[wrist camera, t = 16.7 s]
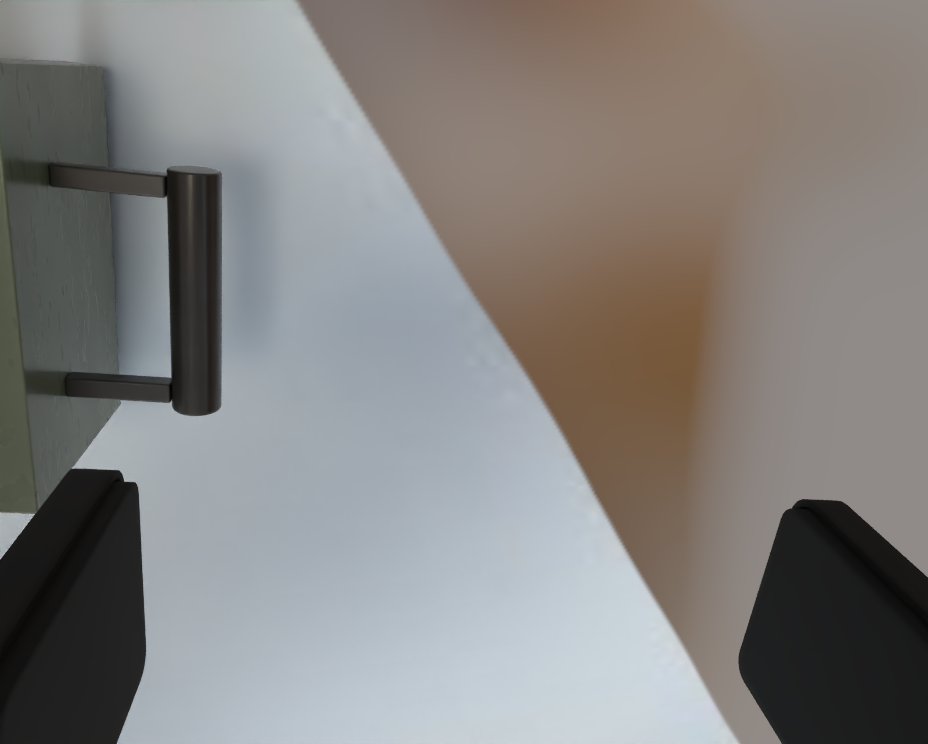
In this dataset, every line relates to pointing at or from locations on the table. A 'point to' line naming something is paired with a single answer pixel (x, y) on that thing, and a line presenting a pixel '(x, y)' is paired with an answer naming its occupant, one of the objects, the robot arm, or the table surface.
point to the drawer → (86, 278)
